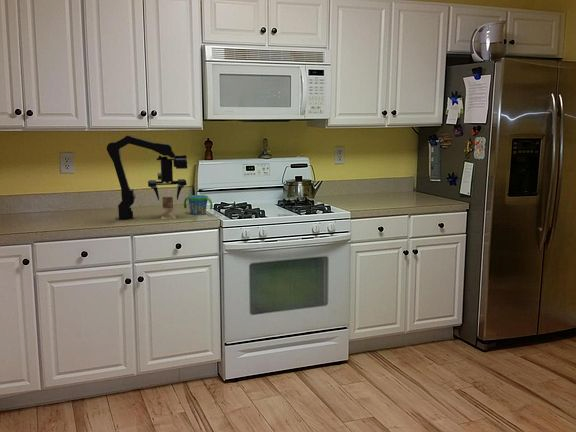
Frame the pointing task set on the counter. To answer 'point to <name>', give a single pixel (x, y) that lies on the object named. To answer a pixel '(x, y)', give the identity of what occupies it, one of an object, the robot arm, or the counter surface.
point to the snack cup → (198, 204)
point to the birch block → (168, 213)
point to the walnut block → (167, 202)
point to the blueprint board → (166, 218)
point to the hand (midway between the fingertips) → (167, 200)
